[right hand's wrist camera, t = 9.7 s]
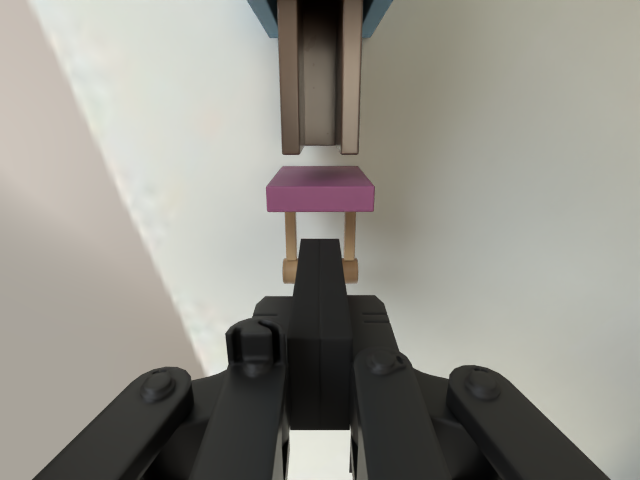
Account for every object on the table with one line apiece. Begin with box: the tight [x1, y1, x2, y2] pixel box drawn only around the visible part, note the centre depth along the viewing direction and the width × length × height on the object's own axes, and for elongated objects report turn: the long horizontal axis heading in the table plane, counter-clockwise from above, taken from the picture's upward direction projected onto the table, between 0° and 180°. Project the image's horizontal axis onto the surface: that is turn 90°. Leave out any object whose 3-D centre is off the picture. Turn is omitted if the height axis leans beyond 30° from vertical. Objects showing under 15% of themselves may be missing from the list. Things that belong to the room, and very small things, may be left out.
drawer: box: [266, 0, 375, 284], centre depth 18 cm, size 25×5×8 cm, turn 0°
